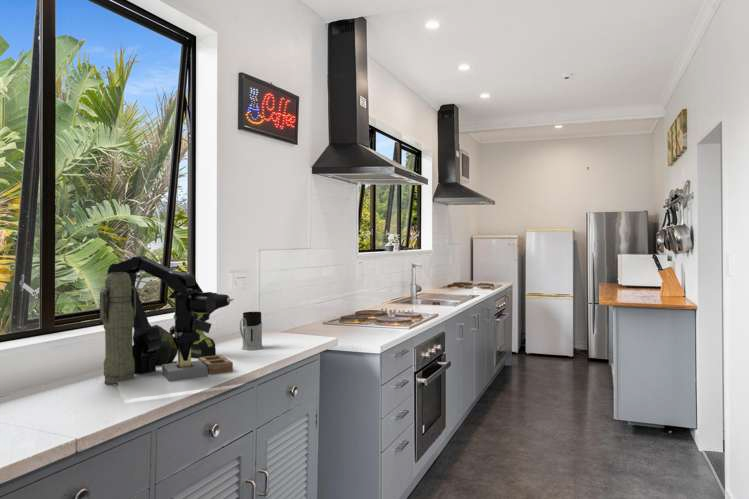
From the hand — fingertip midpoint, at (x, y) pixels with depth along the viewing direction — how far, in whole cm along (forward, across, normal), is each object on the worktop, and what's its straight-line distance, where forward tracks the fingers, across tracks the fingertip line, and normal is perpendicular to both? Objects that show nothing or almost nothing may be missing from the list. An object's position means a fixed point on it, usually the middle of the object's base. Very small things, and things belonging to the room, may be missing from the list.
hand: (184, 359), depth 180 cm
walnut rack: (+6, +4, -11) cm, 13 cm away
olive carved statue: (+6, +6, +19) cm, 21 cm away
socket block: (+6, 0, 0) cm, 6 cm away
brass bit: (+5, 0, 0) cm, 5 cm away
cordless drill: (+6, +30, -15) cm, 34 cm away
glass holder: (+6, +36, -33) cm, 49 cm away
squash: (+6, +26, +5) cm, 27 cm away
